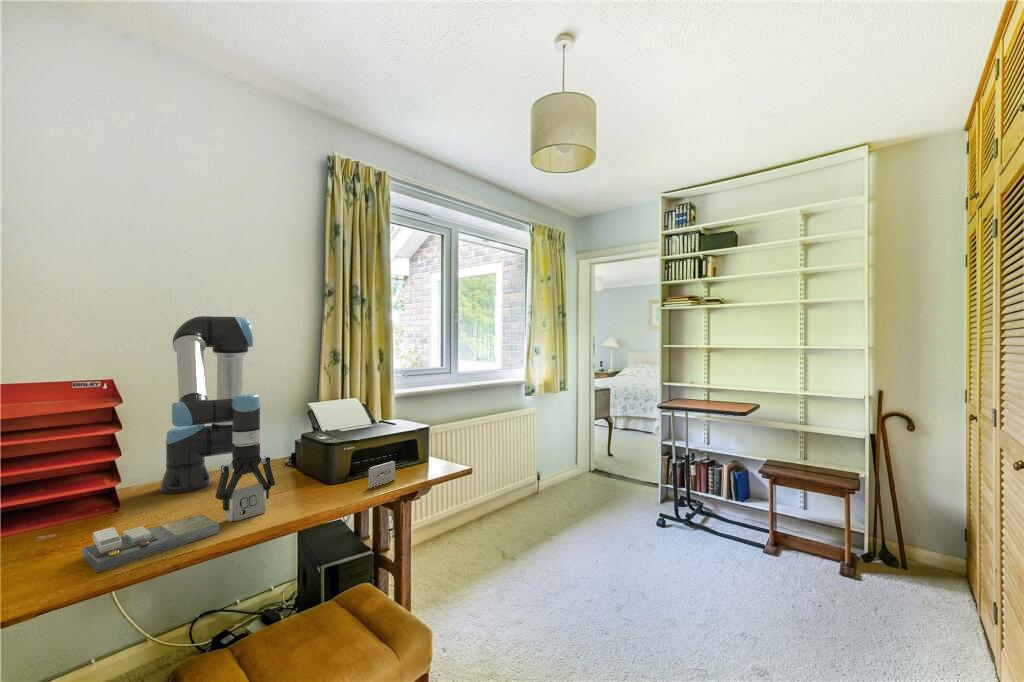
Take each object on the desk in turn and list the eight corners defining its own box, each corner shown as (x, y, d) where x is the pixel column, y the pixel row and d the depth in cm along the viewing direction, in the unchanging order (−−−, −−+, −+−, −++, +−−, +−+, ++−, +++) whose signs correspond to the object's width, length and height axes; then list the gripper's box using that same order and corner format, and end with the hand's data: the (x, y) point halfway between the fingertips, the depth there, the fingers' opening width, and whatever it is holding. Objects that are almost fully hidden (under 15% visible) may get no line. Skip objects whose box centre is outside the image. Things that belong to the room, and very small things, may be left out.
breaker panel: (82, 557, 112) (82, 540, 112) (200, 522, 133) (200, 507, 133) (97, 572, 104) (97, 554, 104) (219, 533, 126) (219, 517, 126)
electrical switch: (233, 522, 133) (232, 491, 134) (227, 519, 136) (226, 489, 137) (266, 513, 140) (265, 483, 141) (259, 510, 144) (258, 482, 144)
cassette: (392, 479, 174) (392, 460, 174) (396, 480, 173) (396, 461, 173) (367, 488, 164) (367, 467, 164) (370, 489, 163) (370, 468, 163)
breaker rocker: (92, 538, 112) (93, 531, 111) (113, 532, 115) (113, 526, 115) (100, 553, 108) (101, 546, 108) (121, 546, 111) (122, 540, 111)
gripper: (212, 452, 127) (212, 530, 127) (287, 438, 145) (287, 506, 145) (201, 449, 131) (201, 524, 131) (275, 435, 149) (275, 501, 149)
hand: (246, 514), depth 138 cm, fingers closed on electrical switch, 9 cm apart
